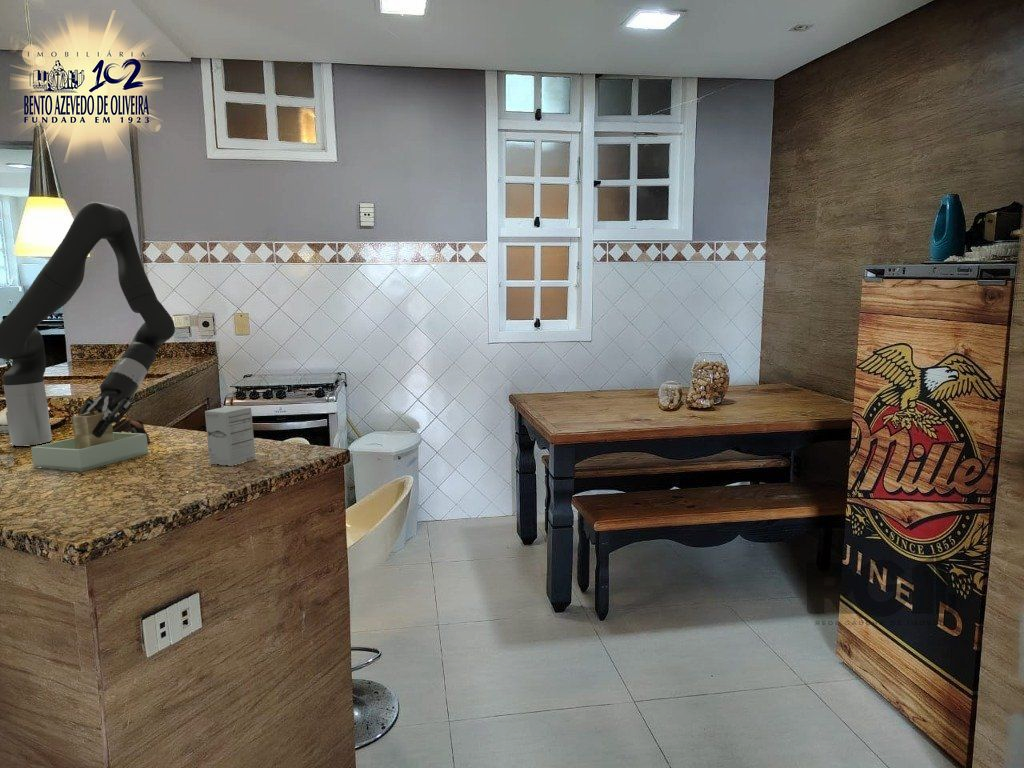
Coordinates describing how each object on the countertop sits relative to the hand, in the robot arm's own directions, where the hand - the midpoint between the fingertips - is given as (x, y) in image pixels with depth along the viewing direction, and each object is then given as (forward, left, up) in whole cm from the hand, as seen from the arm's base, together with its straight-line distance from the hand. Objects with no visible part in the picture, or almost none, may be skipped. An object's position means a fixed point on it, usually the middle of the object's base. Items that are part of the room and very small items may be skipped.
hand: (87, 435), depth 166 cm
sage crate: (0, +1, -7) cm, 7 cm away
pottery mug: (-8, +18, -7) cm, 21 cm away
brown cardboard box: (0, +2, -4) cm, 5 cm away
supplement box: (+38, +7, -7) cm, 39 cm away
